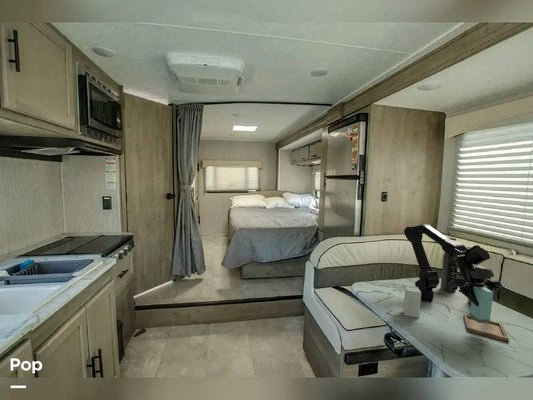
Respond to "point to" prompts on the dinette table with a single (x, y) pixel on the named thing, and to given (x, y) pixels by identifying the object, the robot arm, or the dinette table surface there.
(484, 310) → the teal block
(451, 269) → the wine bottle
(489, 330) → the walnut tray
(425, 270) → the robot arm
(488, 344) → the dinette table surface
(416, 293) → the skincare box
